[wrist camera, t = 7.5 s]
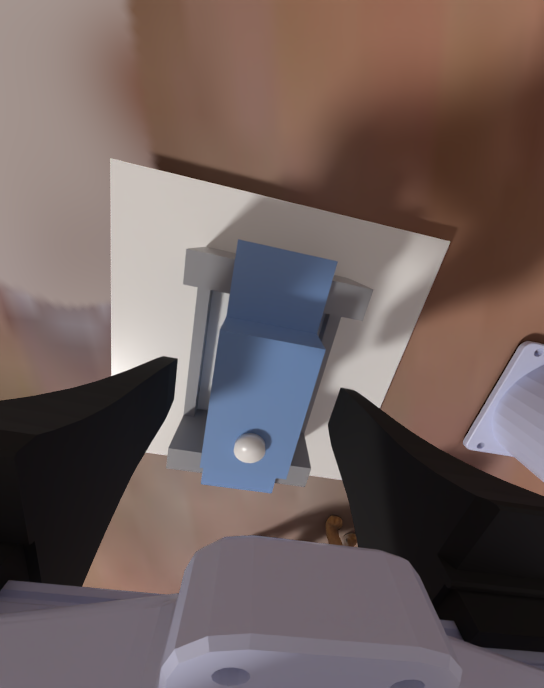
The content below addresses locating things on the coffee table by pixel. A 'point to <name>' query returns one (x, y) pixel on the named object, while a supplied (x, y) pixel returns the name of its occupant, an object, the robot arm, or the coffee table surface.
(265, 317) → the block
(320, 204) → the coffee table surface
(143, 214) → the pocket plate
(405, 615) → the robot arm
